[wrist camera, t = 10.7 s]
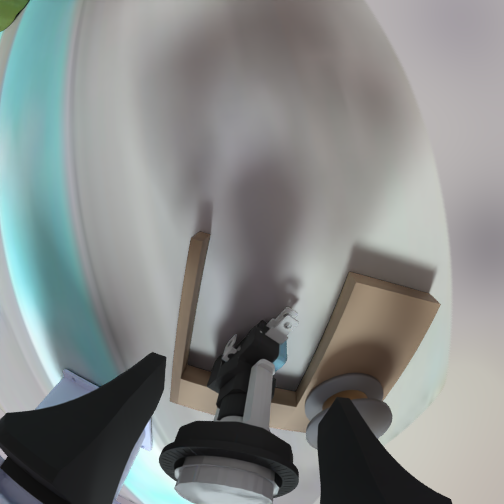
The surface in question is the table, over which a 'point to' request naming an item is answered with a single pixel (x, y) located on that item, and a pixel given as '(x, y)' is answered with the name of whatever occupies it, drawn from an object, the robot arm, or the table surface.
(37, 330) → the table surface
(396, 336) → the notched board
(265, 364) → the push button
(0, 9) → the plant pot
